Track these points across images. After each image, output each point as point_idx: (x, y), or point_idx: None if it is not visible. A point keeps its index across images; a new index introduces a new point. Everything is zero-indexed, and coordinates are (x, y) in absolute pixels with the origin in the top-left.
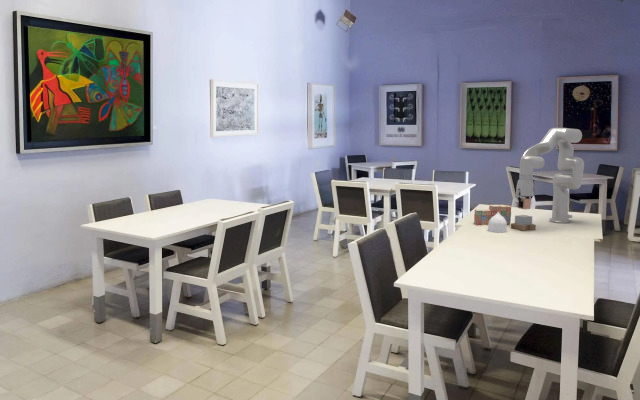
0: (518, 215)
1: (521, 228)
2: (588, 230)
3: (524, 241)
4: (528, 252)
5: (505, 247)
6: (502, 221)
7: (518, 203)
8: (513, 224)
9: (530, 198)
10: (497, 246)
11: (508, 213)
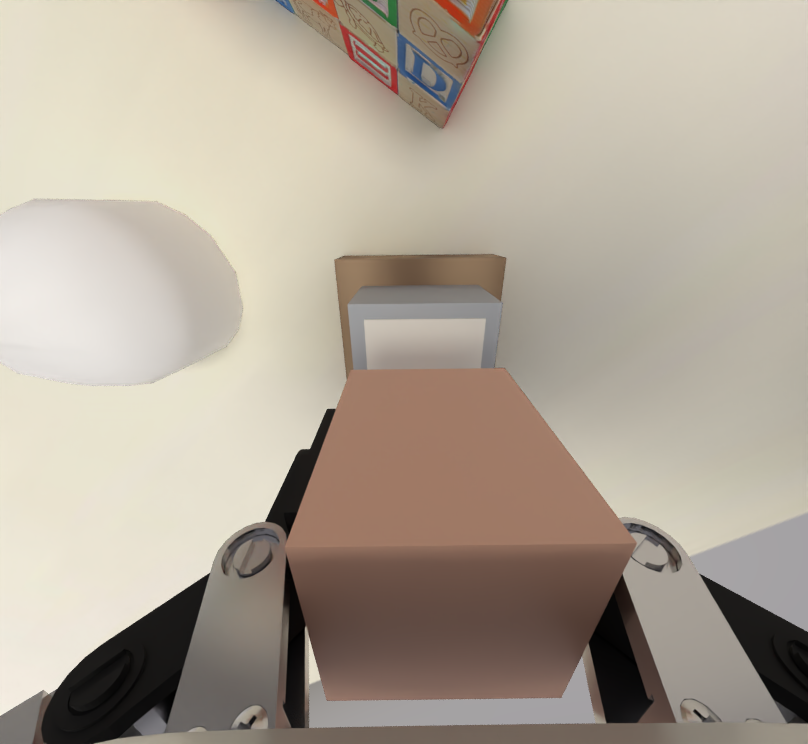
0: (387, 325)
1: None
2: (725, 517)
3: (188, 546)
4: (108, 636)
5: (39, 578)
6: (98, 384)
7: (331, 430)
8: (339, 293)
9: (624, 678)
10: (4, 559)
11: (433, 31)
